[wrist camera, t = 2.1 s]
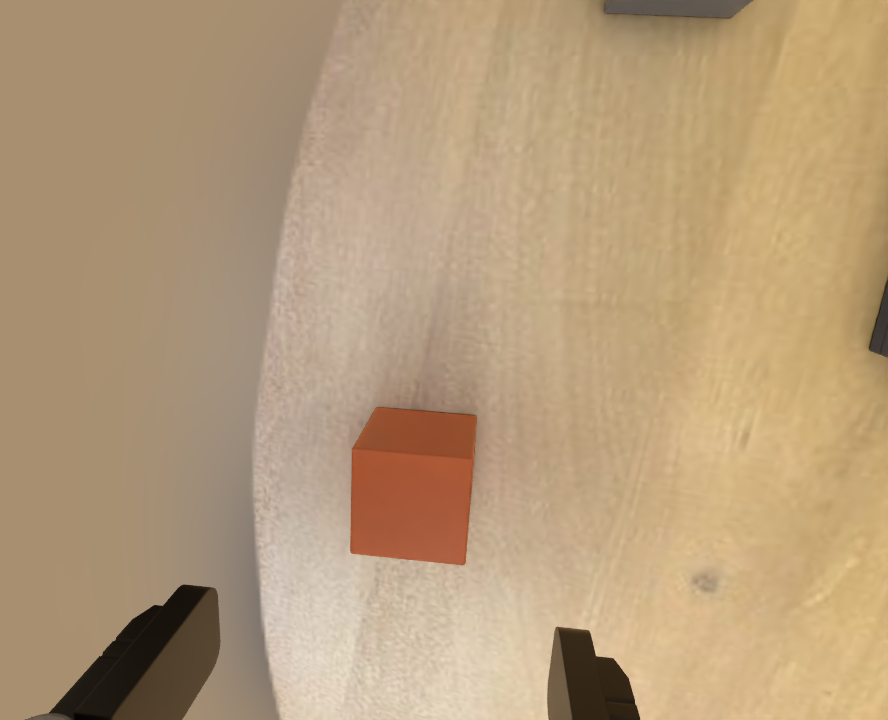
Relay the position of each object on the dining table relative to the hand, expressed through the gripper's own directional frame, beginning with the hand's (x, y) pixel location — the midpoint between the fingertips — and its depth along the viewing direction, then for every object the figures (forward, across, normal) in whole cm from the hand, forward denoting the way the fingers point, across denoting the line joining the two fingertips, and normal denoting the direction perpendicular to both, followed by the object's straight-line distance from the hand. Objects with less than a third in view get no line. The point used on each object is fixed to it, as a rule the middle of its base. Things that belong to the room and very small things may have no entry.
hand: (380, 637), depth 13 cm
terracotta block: (+10, 0, 0) cm, 10 cm away
